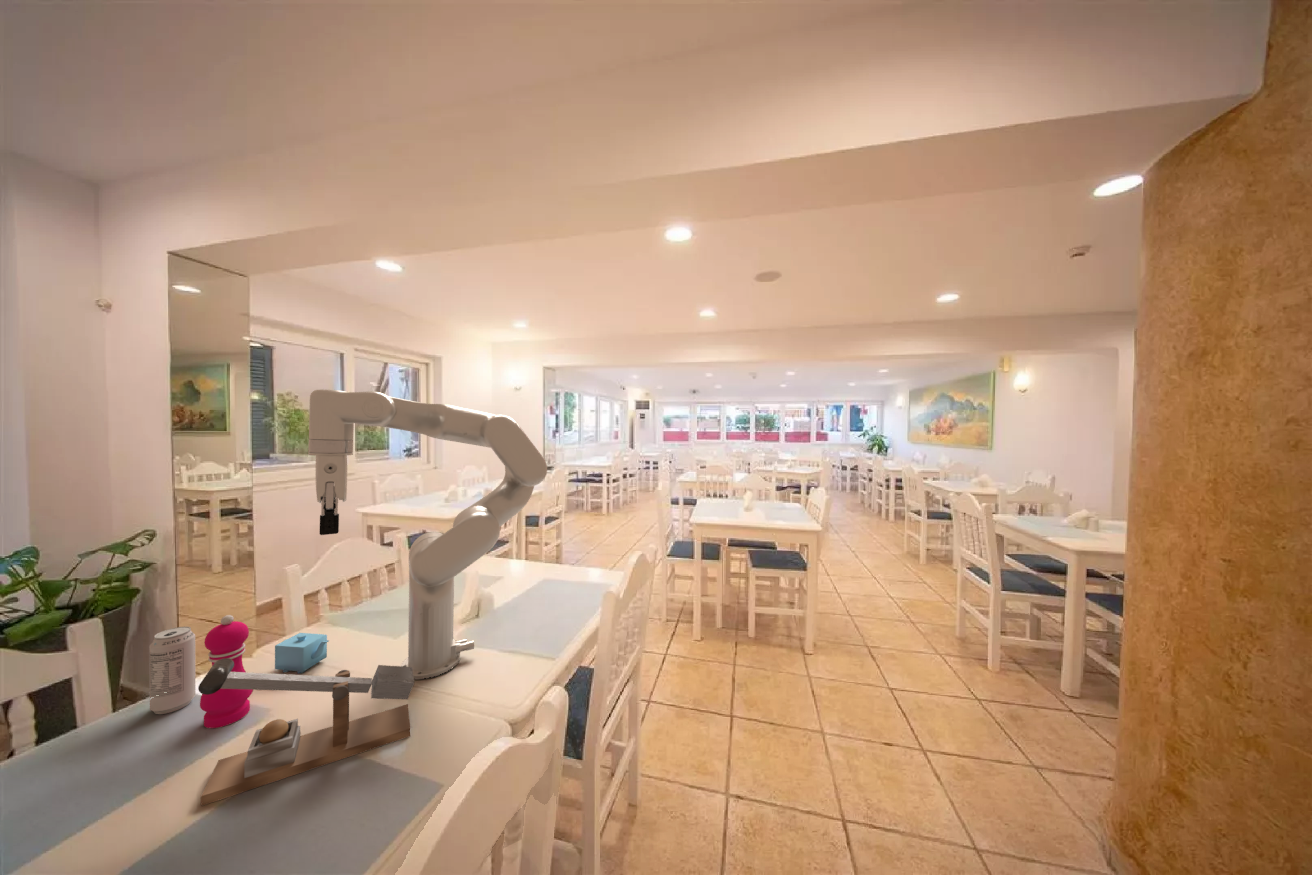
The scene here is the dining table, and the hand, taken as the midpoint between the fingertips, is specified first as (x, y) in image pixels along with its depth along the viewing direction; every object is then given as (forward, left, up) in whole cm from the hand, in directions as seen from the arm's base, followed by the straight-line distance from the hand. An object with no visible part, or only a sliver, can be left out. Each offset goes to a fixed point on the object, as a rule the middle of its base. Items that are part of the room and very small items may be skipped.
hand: (329, 533), depth 90 cm
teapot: (+5, -13, -34) cm, 37 cm away
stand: (-1, +21, -34) cm, 40 cm away
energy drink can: (+25, -9, -34) cm, 44 cm away
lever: (0, +21, -22) cm, 31 cm away
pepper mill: (+15, +1, -34) cm, 37 cm away
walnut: (+5, +21, -28) cm, 35 cm away
